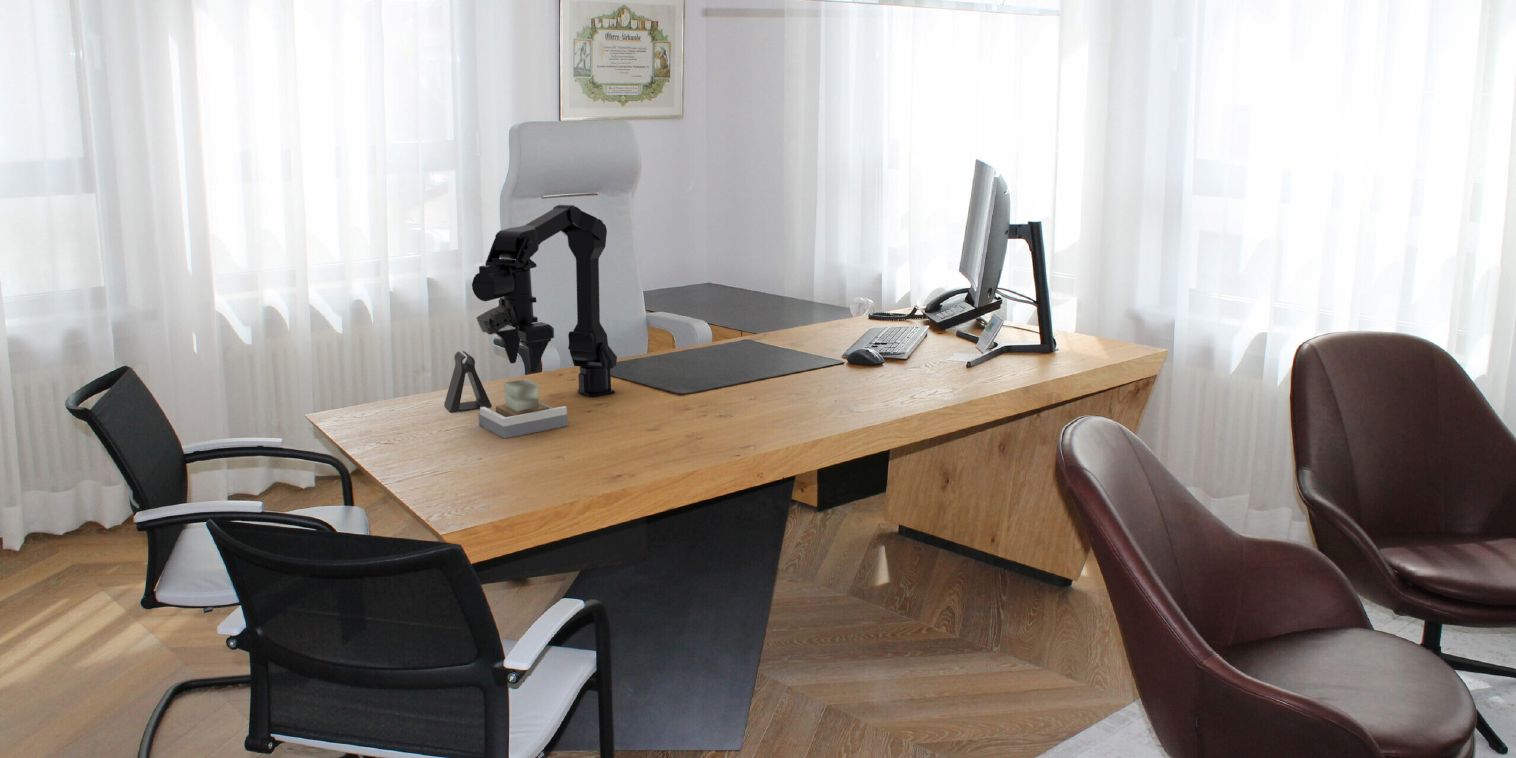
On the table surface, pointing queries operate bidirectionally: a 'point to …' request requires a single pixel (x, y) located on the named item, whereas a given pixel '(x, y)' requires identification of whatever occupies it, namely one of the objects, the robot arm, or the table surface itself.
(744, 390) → the table surface
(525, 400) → the cube on wooden base
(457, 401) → the phone stand
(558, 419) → the dock
